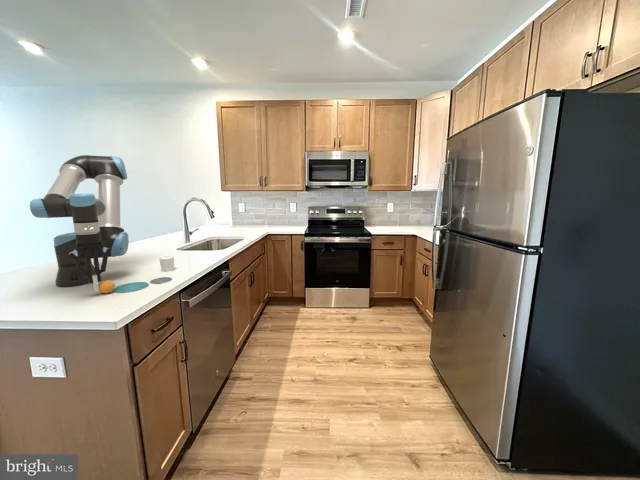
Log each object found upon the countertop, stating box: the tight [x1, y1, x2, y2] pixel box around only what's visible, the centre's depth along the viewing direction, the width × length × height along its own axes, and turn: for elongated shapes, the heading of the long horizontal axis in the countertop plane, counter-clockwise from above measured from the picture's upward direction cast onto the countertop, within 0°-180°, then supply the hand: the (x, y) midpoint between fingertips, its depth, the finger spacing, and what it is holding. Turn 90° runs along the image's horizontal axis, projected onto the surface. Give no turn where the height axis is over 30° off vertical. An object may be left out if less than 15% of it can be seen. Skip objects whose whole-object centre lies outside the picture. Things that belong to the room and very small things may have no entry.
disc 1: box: [112, 281, 149, 294], centre depth 118 cm, size 13×13×1 cm
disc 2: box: [149, 276, 173, 285], centre depth 127 cm, size 9×9×1 cm
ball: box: [98, 279, 116, 294], centre depth 111 cm, size 6×6×6 cm
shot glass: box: [158, 256, 175, 273], centre depth 143 cm, size 7×7×7 cm
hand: (96, 290), depth 109 cm, fingers closed
